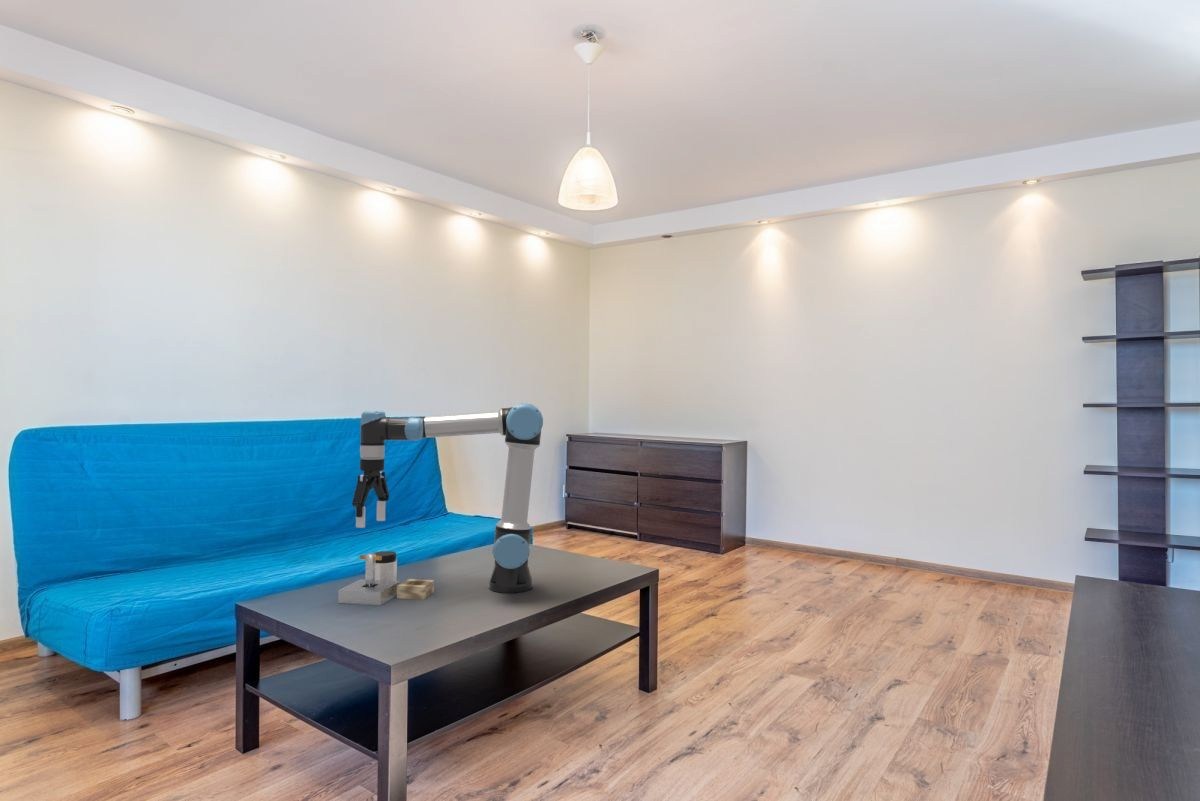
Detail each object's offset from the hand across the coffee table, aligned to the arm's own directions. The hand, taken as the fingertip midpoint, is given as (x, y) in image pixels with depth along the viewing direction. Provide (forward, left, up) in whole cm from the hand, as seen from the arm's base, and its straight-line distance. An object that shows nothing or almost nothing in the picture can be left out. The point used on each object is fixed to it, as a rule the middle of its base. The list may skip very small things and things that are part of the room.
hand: (370, 524), depth 218 cm
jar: (+3, -15, -25) cm, 29 cm away
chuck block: (0, +1, -25) cm, 25 cm away
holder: (-13, -5, -25) cm, 29 cm away
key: (0, +1, -24) cm, 24 cm away
